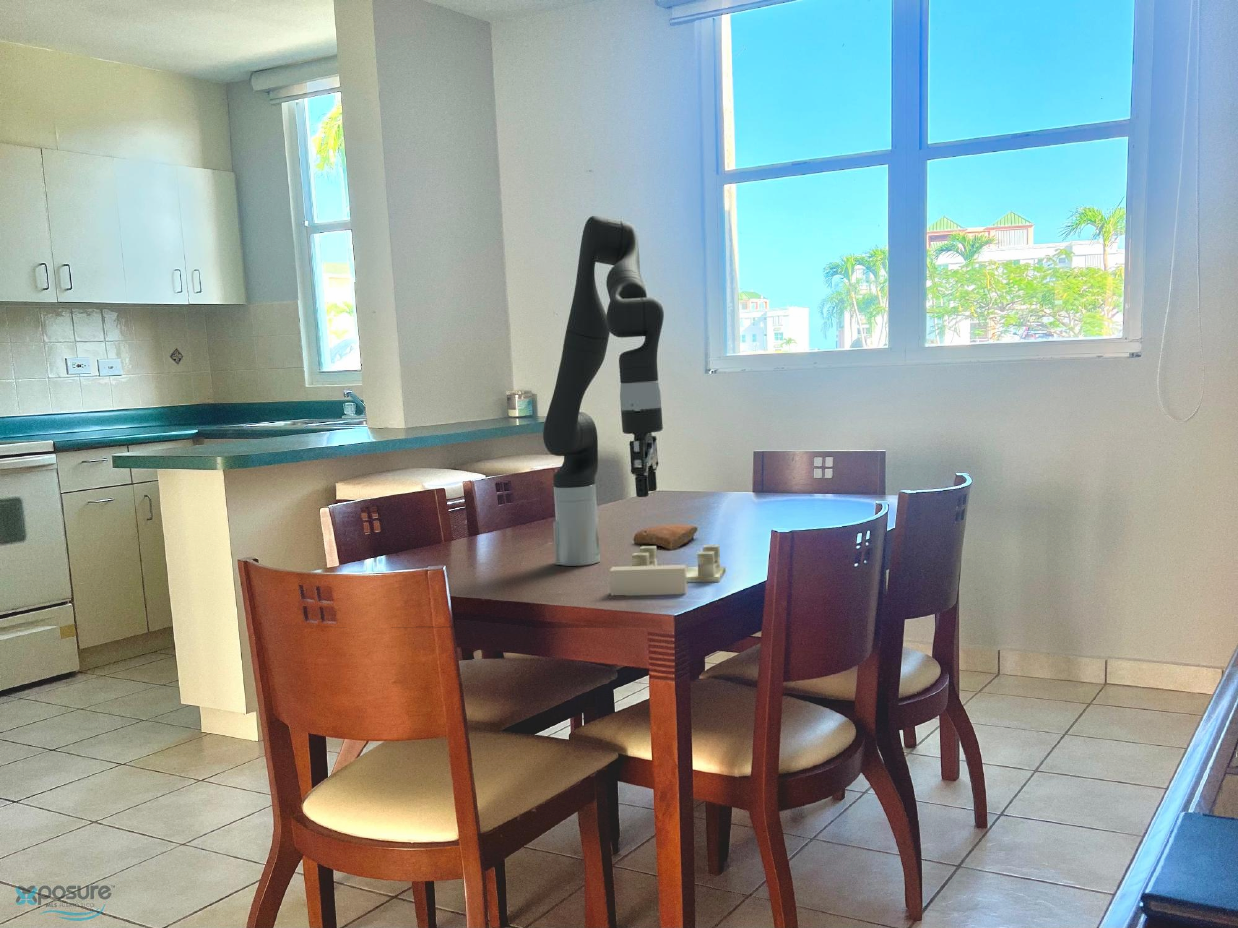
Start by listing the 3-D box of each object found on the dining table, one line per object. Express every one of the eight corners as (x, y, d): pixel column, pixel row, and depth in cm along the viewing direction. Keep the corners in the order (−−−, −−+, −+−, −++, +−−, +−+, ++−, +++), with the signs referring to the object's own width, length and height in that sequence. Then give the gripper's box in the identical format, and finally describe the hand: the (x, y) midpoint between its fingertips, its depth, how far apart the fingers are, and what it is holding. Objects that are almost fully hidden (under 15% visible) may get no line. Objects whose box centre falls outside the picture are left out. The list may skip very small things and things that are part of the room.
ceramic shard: (717, 520, 244) (668, 538, 236) (719, 546, 246) (670, 564, 237) (677, 508, 255) (629, 524, 247) (679, 532, 257) (632, 549, 249)
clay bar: (611, 596, 192) (609, 570, 191) (613, 592, 195) (612, 566, 195) (685, 595, 189) (684, 568, 189) (687, 590, 193) (685, 564, 192)
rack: (628, 582, 202) (626, 555, 202) (638, 572, 212) (637, 546, 212) (719, 581, 198) (717, 553, 198) (725, 571, 208) (724, 544, 207)
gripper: (628, 406, 197) (634, 490, 199) (613, 409, 183) (619, 499, 185) (667, 404, 196) (672, 488, 197) (654, 407, 182) (660, 497, 183)
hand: (646, 493), depth 191 cm, fingers open, 8 cm apart
